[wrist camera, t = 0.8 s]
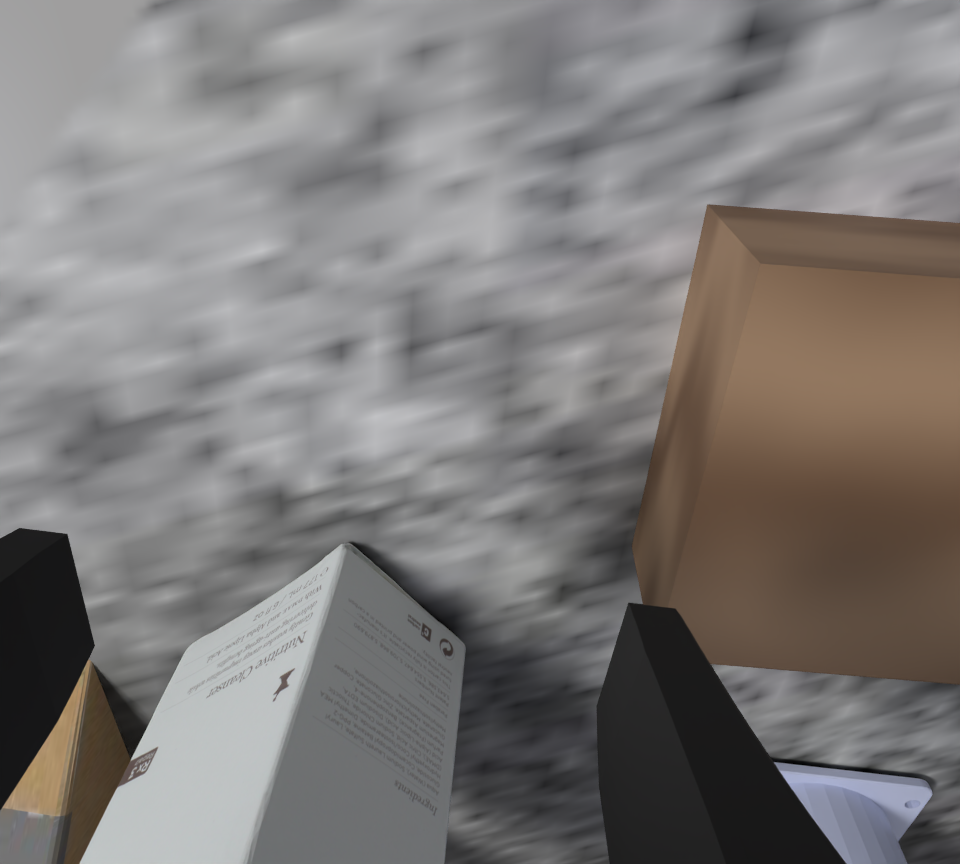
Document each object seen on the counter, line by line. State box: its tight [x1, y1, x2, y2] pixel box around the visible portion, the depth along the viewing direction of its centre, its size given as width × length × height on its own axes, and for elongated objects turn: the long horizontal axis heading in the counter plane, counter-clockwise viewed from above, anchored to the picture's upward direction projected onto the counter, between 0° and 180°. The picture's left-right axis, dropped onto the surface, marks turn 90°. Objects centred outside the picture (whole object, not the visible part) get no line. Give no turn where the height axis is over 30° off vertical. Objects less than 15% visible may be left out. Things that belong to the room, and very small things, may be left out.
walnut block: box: [632, 205, 960, 685], centre depth 17 cm, size 10×8×4 cm
